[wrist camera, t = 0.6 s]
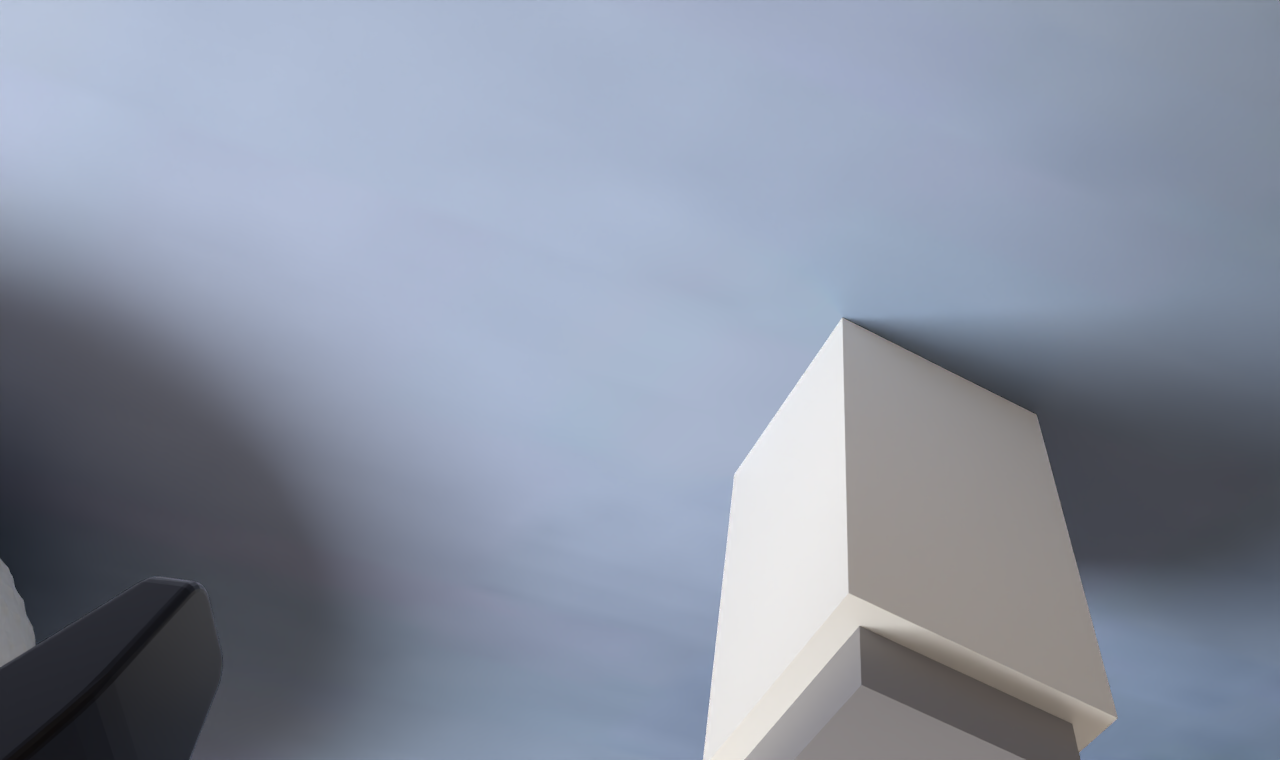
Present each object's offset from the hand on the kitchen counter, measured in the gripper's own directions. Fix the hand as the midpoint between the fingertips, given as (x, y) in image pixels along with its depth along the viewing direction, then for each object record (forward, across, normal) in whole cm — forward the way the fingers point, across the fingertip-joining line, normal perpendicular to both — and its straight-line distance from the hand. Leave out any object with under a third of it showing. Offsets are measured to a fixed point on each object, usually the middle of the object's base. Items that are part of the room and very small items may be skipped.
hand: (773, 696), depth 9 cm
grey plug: (+12, -2, +6) cm, 13 cm away
